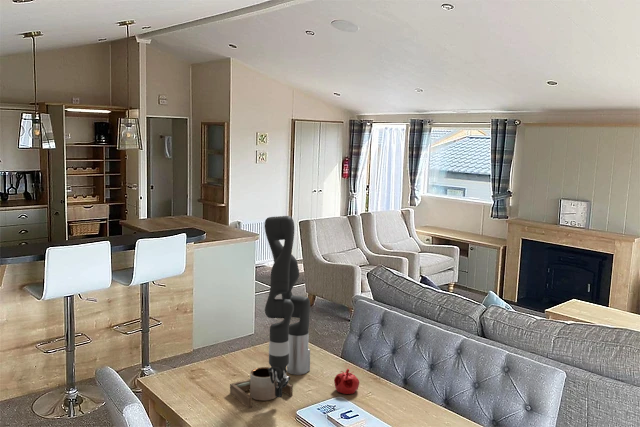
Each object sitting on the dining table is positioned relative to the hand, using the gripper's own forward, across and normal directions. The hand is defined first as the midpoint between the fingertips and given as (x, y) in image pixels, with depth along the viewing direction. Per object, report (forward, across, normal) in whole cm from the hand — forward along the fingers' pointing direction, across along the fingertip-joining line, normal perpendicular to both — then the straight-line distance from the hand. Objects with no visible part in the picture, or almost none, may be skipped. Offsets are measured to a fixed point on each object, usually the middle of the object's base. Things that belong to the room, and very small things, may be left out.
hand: (278, 396), depth 213 cm
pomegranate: (+4, -4, -30) cm, 30 cm away
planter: (+4, +11, 0) cm, 11 cm away
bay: (+4, +11, +1) cm, 12 cm away
